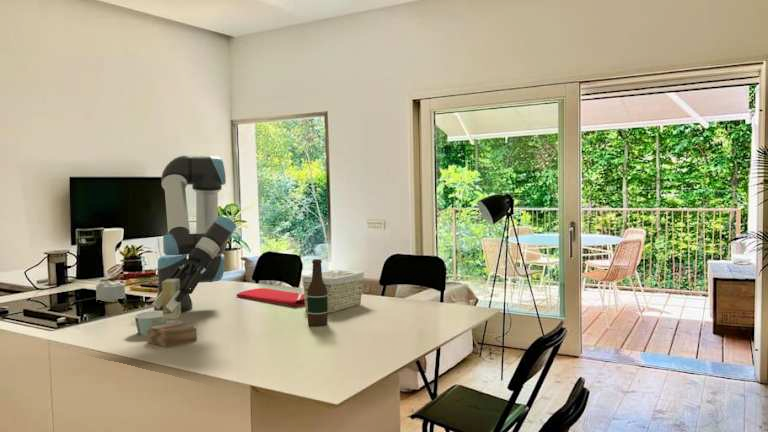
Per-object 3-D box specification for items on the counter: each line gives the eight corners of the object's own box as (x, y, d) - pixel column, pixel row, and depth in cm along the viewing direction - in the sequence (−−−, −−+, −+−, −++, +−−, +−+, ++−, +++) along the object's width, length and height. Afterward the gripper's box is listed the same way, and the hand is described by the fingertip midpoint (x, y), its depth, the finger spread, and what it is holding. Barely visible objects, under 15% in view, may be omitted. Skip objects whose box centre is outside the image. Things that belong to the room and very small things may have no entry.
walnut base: (147, 342, 190) (147, 327, 190) (177, 335, 199) (177, 321, 199) (166, 347, 184) (166, 332, 184) (196, 340, 193) (196, 325, 192)
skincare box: (168, 314, 194) (166, 278, 193) (181, 314, 194) (180, 278, 194) (162, 319, 188) (161, 281, 187) (176, 318, 188) (175, 281, 187)
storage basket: (336, 301, 260) (335, 268, 259) (366, 304, 251) (365, 270, 250) (300, 310, 240) (300, 275, 239) (332, 315, 231) (331, 278, 230)
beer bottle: (324, 326, 210) (323, 261, 209) (304, 326, 212) (303, 260, 211) (330, 322, 218) (330, 258, 217) (311, 321, 219) (310, 258, 218)
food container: (148, 338, 196) (147, 319, 196) (126, 333, 202) (125, 315, 202) (177, 330, 206) (177, 312, 206) (156, 326, 212) (155, 309, 212)
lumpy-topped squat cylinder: (107, 303, 258) (106, 284, 257) (90, 300, 264) (89, 281, 264) (128, 299, 266) (128, 280, 266) (111, 297, 273) (111, 278, 273)
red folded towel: (263, 293, 283) (263, 285, 282) (321, 303, 256) (321, 295, 256) (236, 298, 271) (236, 290, 270) (294, 309, 244) (294, 300, 244)
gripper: (228, 262, 196) (187, 318, 184) (193, 258, 209) (152, 311, 196) (214, 247, 192) (172, 304, 180) (179, 245, 204) (137, 297, 192)
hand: (162, 307), depth 188 cm, fingers closed on skincare box, 7 cm apart
